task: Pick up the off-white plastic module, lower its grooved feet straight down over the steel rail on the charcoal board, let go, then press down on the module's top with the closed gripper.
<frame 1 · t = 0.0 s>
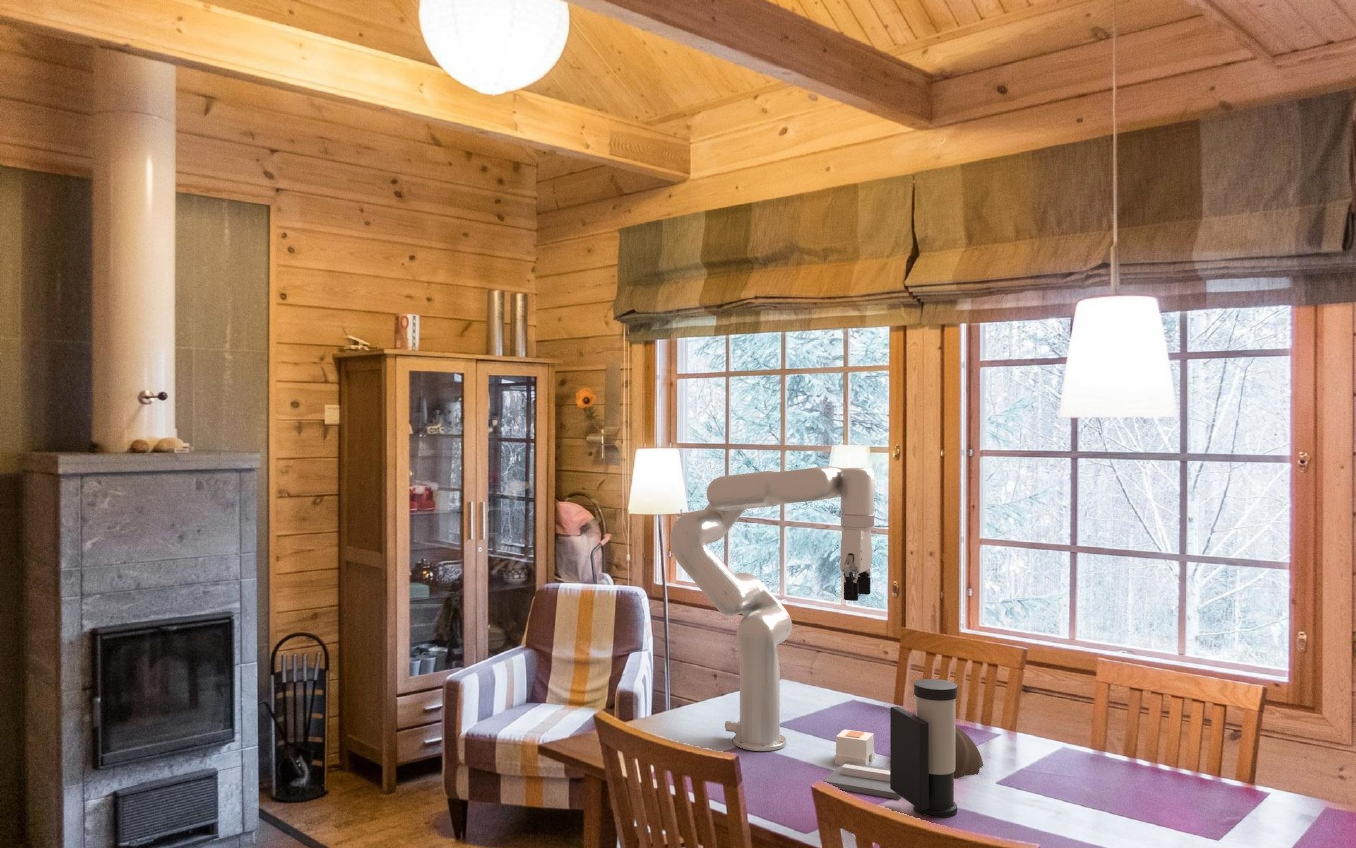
hand: (857, 597, 230), 37 cm above the table, tool pointing down, fingers open, 9 cm apart
module: (855, 761, 228), on the table
decorative dome: (937, 765, 227), on the table
rail board: (870, 782, 215), on the table
light fixture: (929, 811, 199), on the table
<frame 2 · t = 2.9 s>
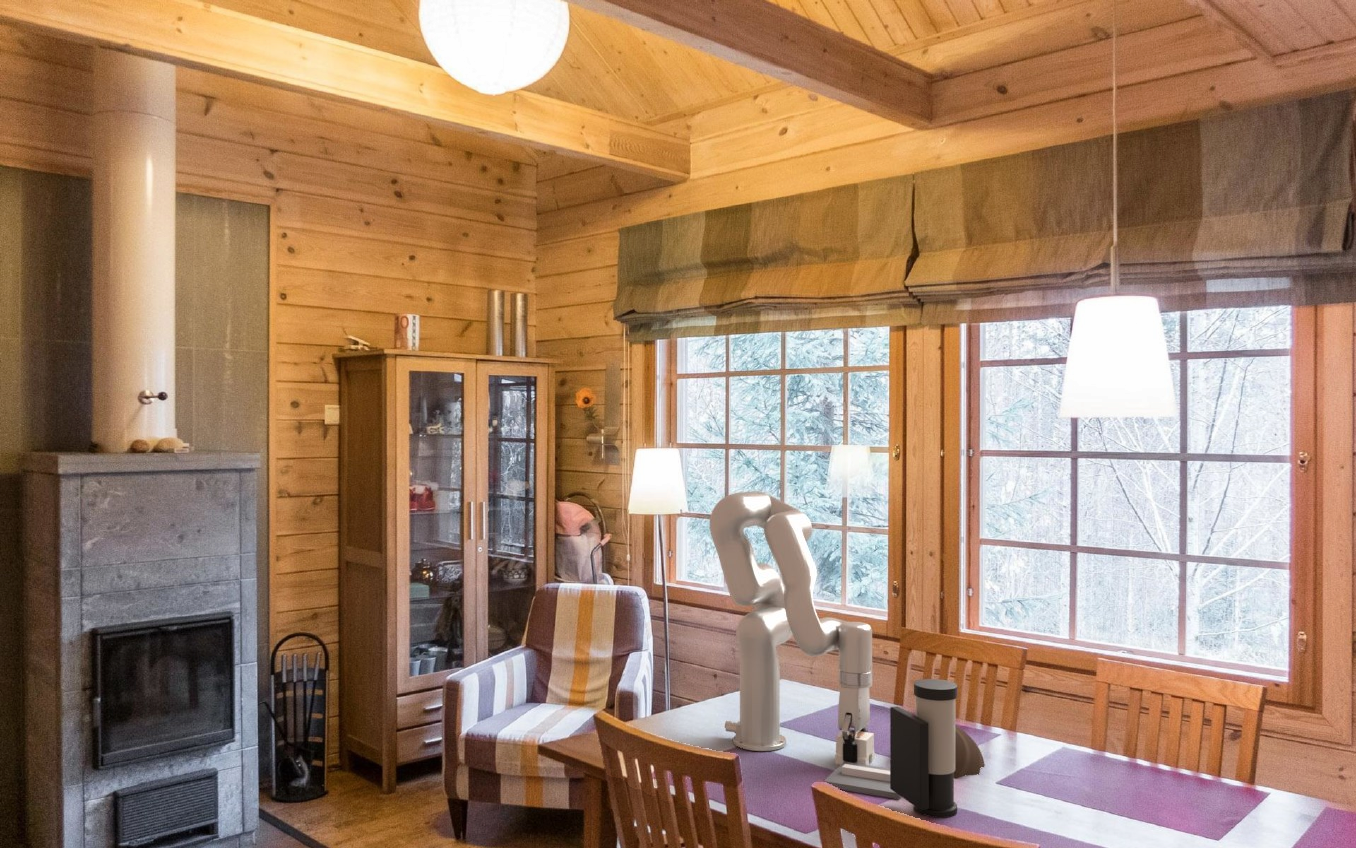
hand: (855, 756, 228), 1 cm above the table, tool pointing down, fingers closed on module, 7 cm apart
module: (855, 761, 228), on the table, touching gripper
everything else where it was.
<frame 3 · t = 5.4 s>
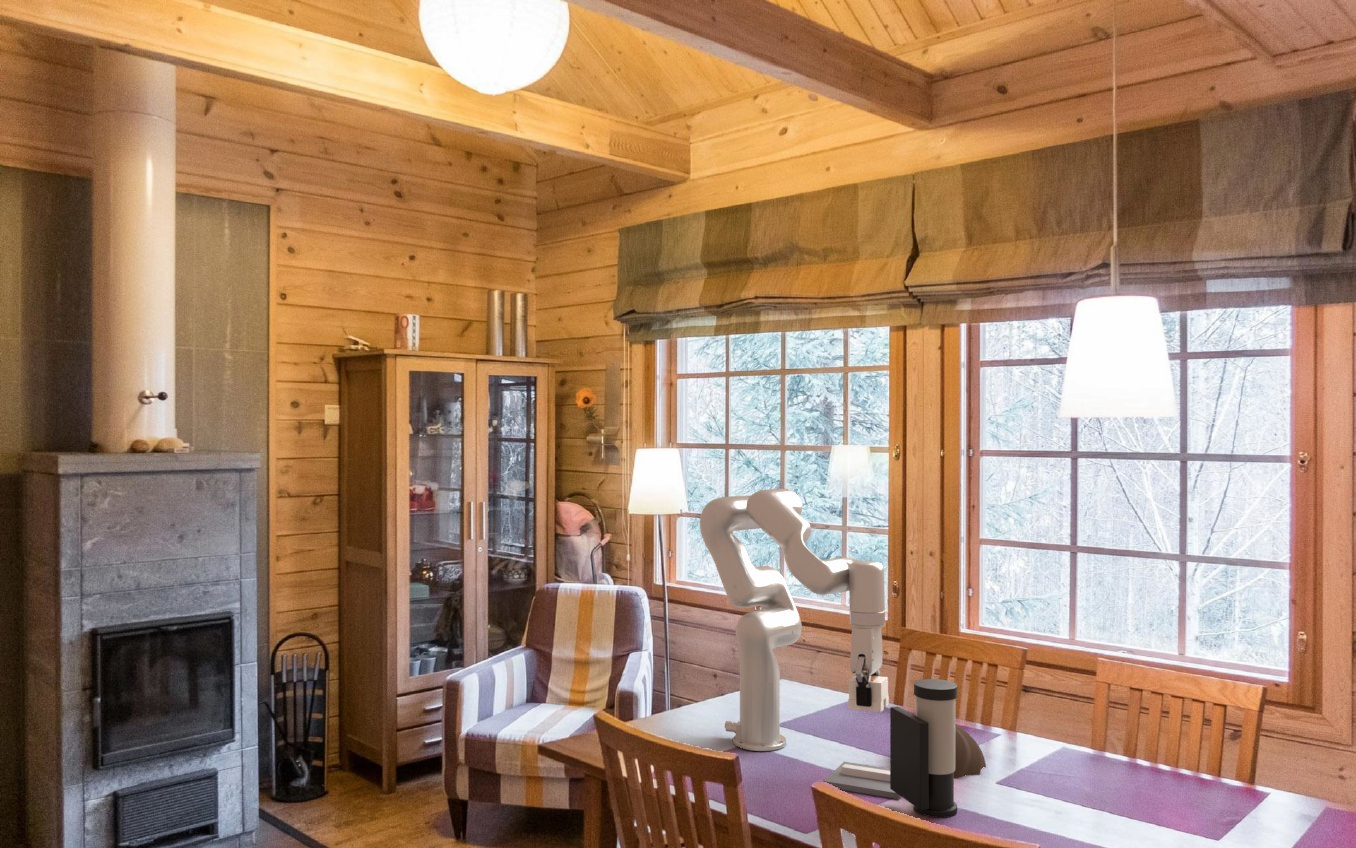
hand: (868, 701, 218), 16 cm above the table, tool pointing down, fingers closed on module, 7 cm apart
module: (868, 706, 218), point 15 cm above the table, touching gripper
everything else where it was.
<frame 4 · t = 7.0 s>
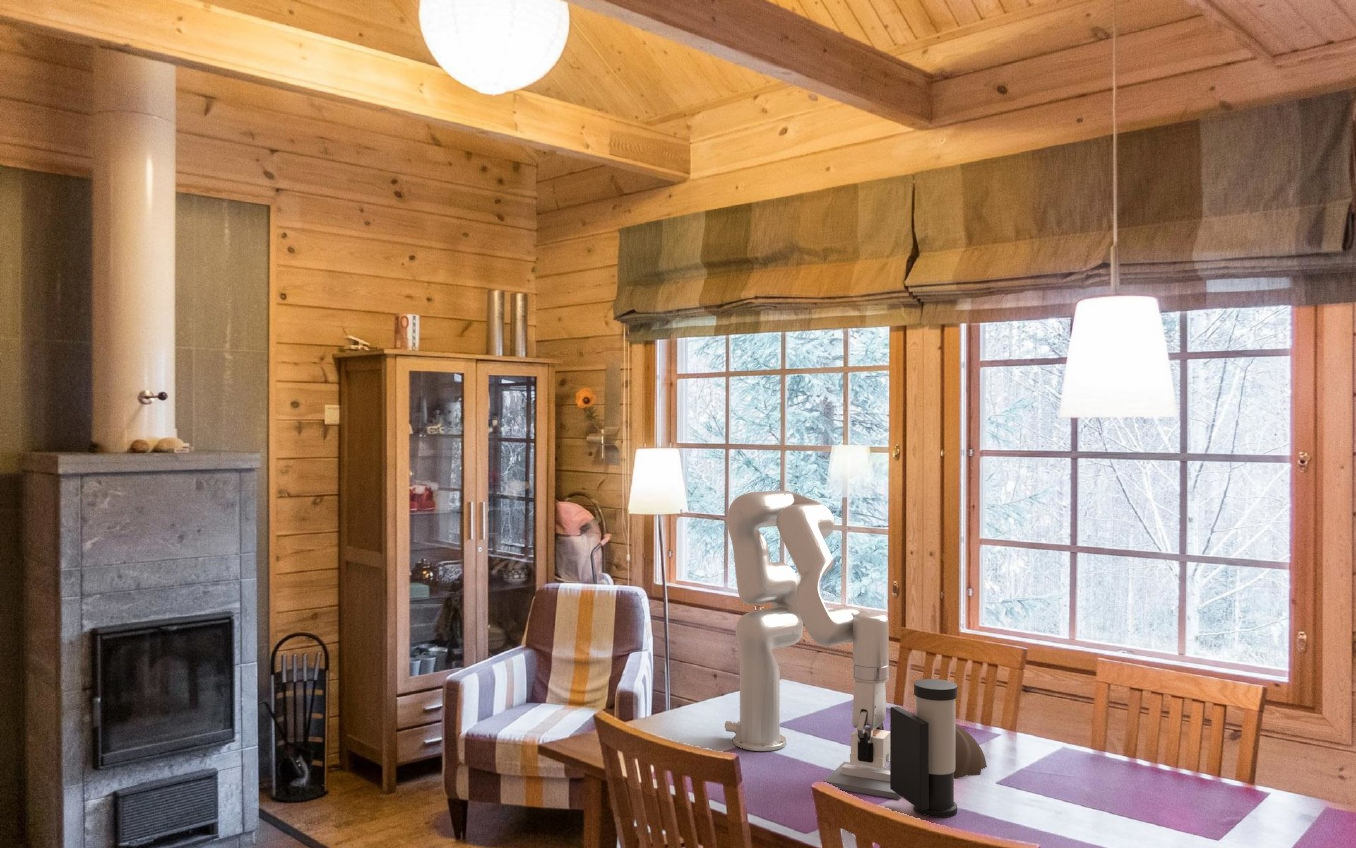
hand: (870, 755, 215), 6 cm above the table, tool pointing down, fingers closed on module, 7 cm apart
module: (870, 761, 214), point 5 cm above the table, touching gripper
everything else where it was.
when the fingers open (3 cm above the table, at t = 8.1 s): module stays where it is, resting on rail board.
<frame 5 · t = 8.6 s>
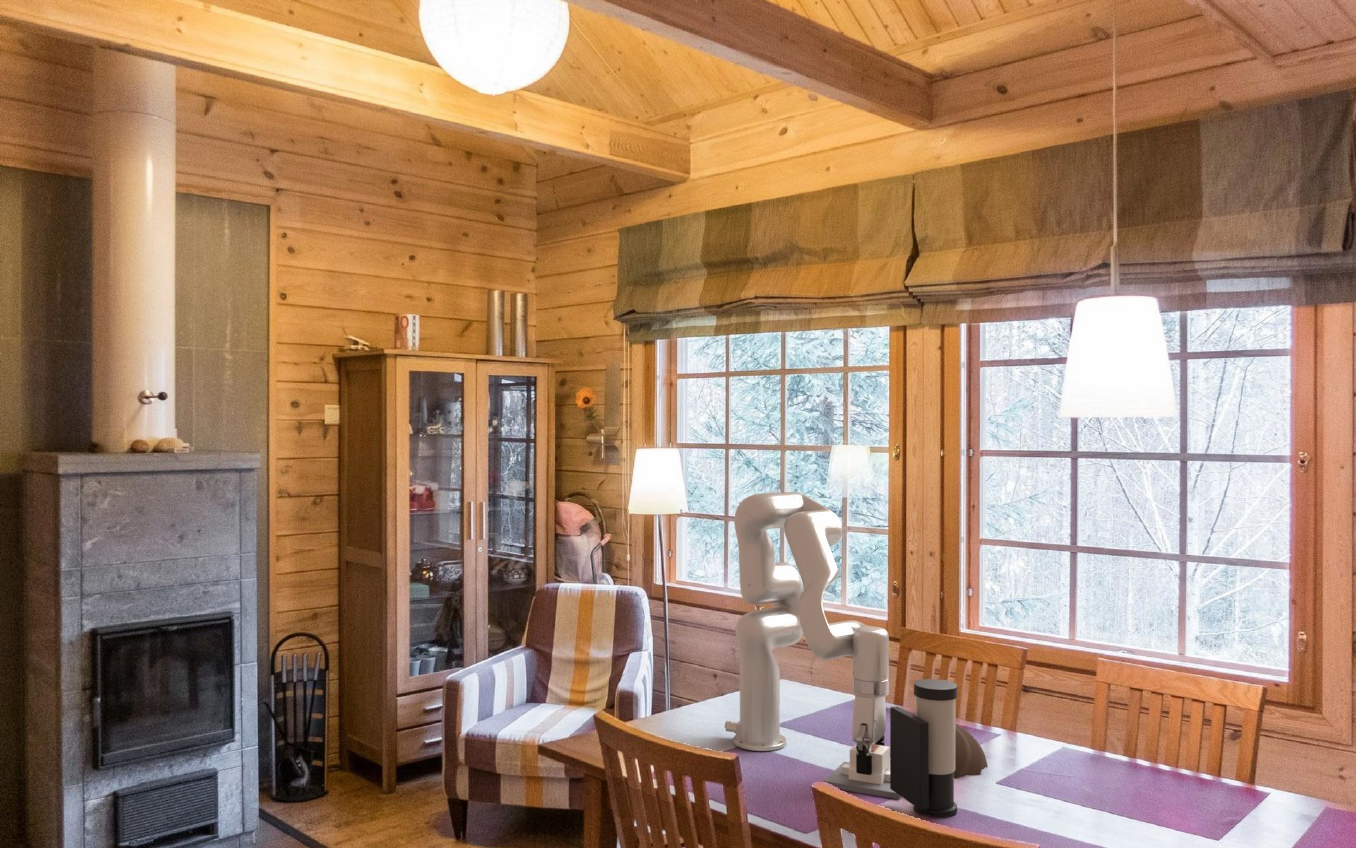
hand: (870, 767, 215), 3 cm above the table, tool pointing down, fingers open, 9 cm apart
module: (869, 776, 215), point 1 cm above the table, touching rail board
everything else where it was.
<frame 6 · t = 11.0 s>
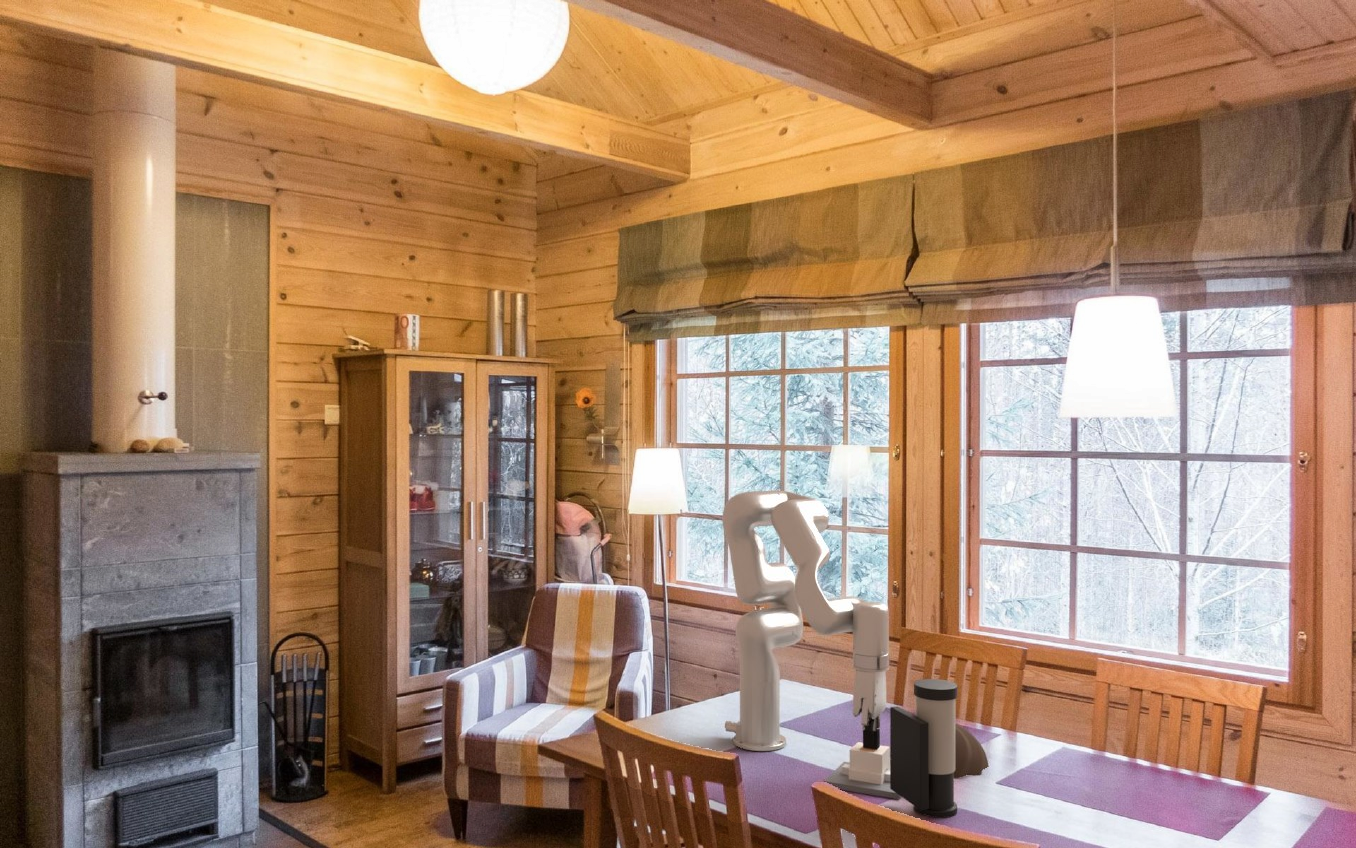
hand: (871, 747, 214), 7 cm above the table, tool pointing down, fingers closed
module: (869, 776, 215), point 1 cm above the table, touching gripper, rail board
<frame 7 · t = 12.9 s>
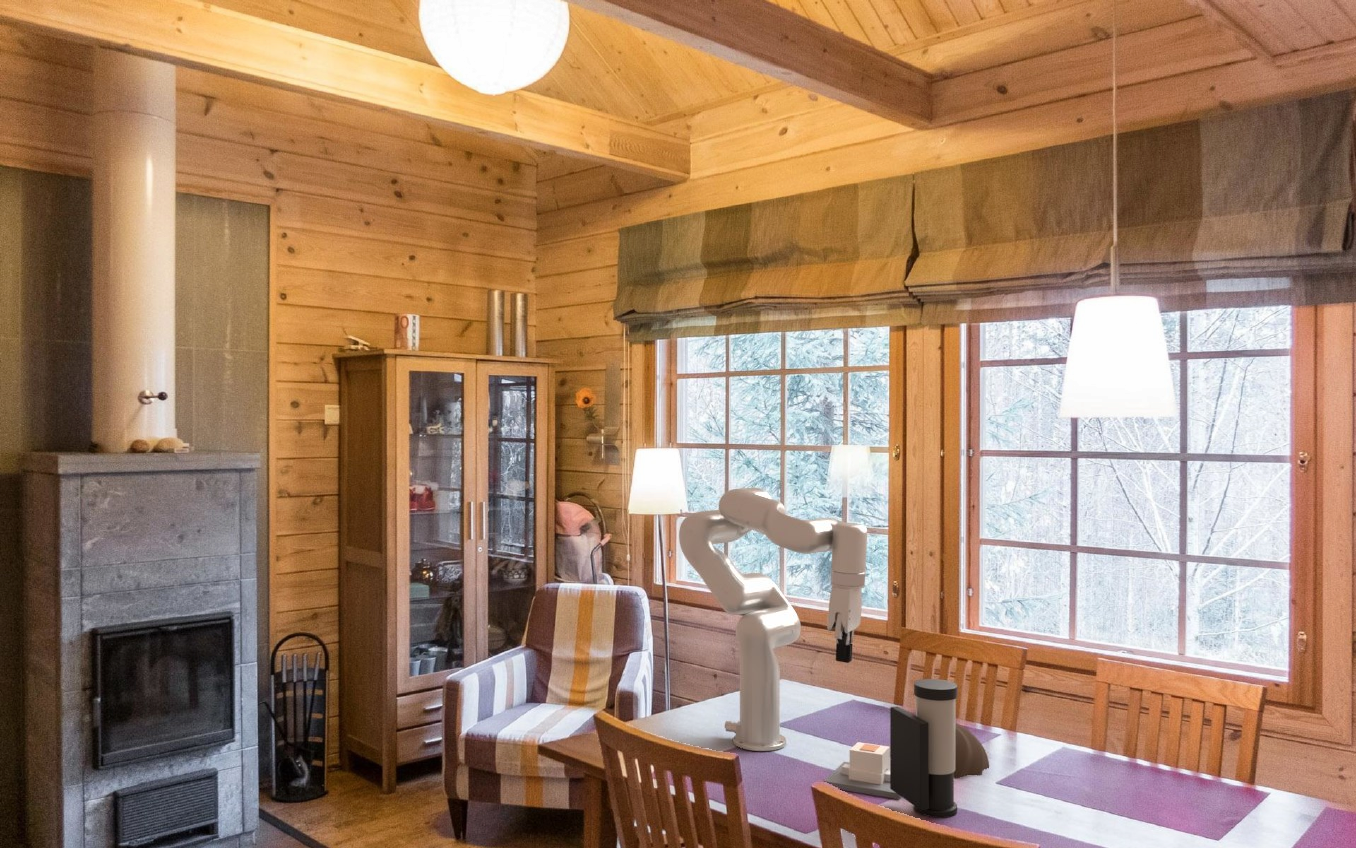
hand: (843, 661, 224), 24 cm above the table, tool pointing down, fingers closed
module: (869, 776, 215), point 1 cm above the table, touching rail board
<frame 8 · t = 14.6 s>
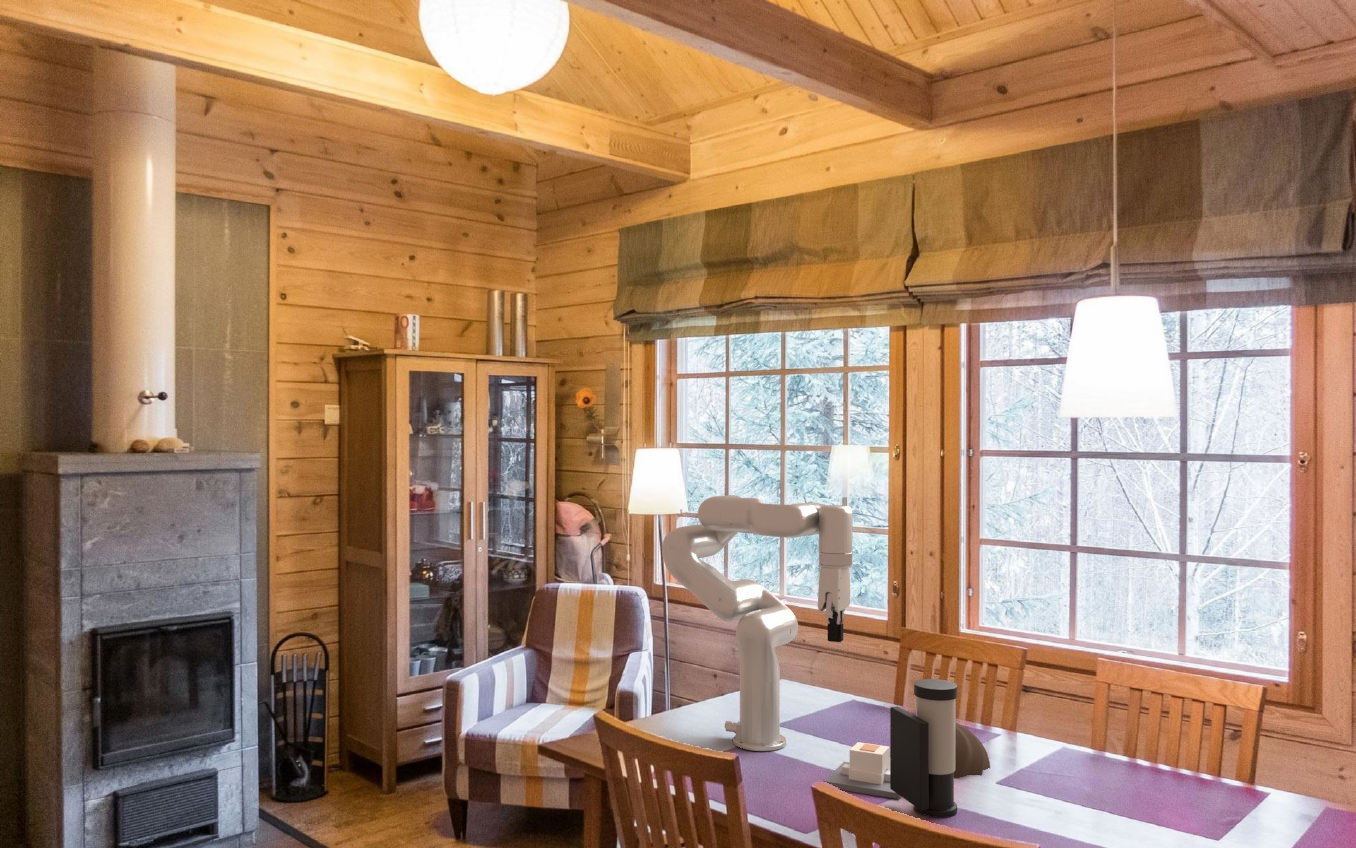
hand: (835, 641, 229), 27 cm above the table, tool pointing down, fingers closed
at the end: module 0.2 cm off-centre on the rail board, point 1.2 cm above the rail board's base; module tilted 0°; the gripper is holding nothing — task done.
